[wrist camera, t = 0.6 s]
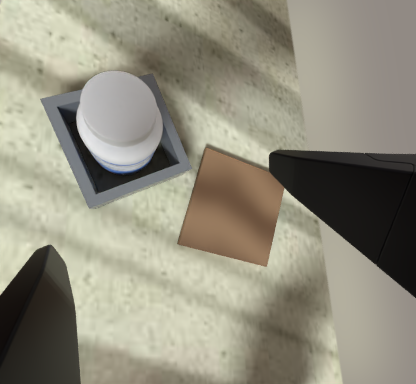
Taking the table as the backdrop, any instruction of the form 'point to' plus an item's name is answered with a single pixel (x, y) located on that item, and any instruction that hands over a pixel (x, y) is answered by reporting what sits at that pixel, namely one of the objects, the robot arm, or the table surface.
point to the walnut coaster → (232, 209)
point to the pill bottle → (119, 121)
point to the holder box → (60, 117)
